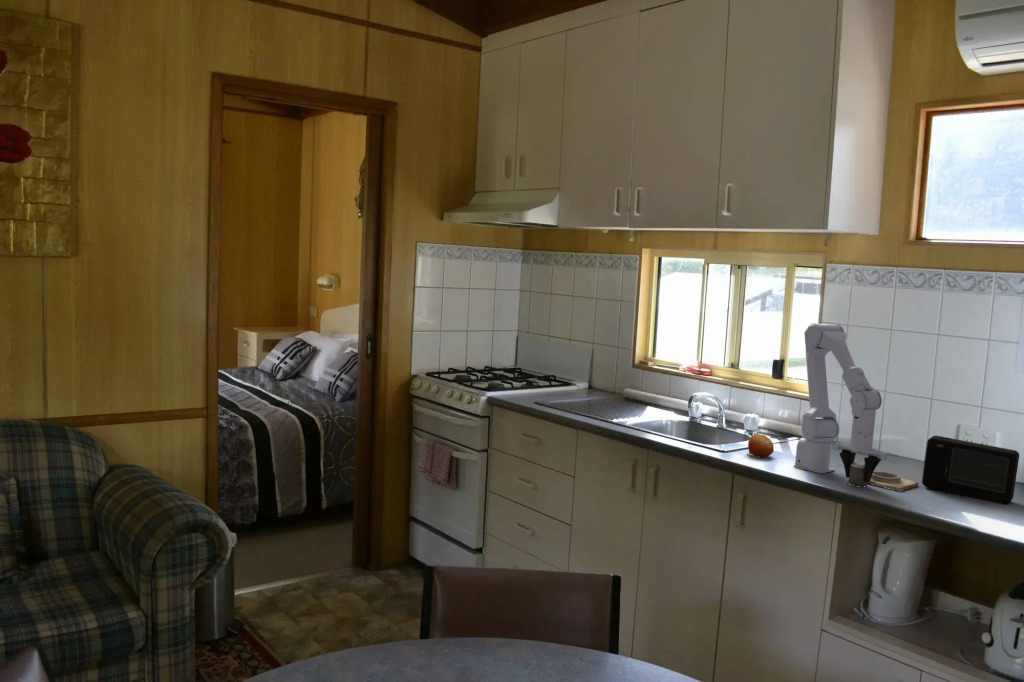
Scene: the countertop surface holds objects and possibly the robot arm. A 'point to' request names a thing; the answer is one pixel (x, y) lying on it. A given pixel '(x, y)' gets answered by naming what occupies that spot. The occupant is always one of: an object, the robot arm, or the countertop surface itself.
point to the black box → (970, 469)
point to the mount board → (891, 481)
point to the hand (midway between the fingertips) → (857, 479)
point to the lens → (857, 474)
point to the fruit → (760, 446)
